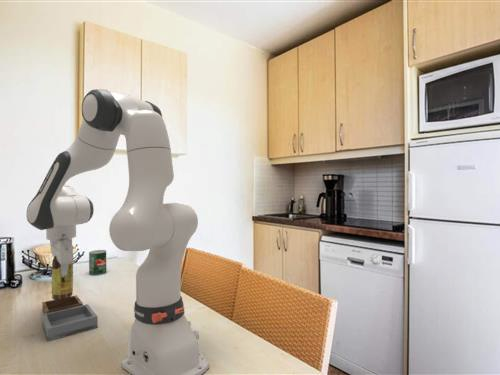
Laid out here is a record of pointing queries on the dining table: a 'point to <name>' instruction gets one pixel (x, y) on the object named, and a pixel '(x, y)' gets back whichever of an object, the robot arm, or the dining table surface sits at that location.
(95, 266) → the canned tomato
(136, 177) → the robot arm
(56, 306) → the walnut collar
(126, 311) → the dining table surface
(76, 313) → the grey tray
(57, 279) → the sauce bottle
